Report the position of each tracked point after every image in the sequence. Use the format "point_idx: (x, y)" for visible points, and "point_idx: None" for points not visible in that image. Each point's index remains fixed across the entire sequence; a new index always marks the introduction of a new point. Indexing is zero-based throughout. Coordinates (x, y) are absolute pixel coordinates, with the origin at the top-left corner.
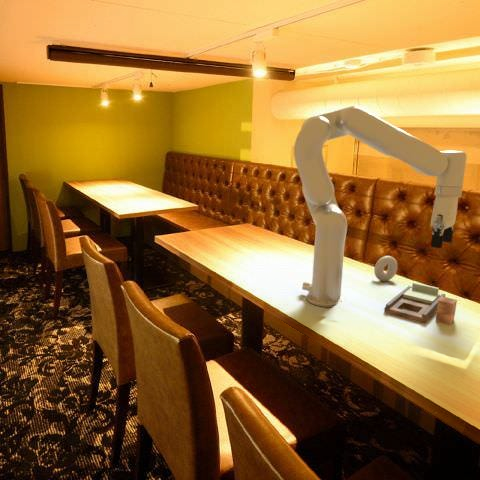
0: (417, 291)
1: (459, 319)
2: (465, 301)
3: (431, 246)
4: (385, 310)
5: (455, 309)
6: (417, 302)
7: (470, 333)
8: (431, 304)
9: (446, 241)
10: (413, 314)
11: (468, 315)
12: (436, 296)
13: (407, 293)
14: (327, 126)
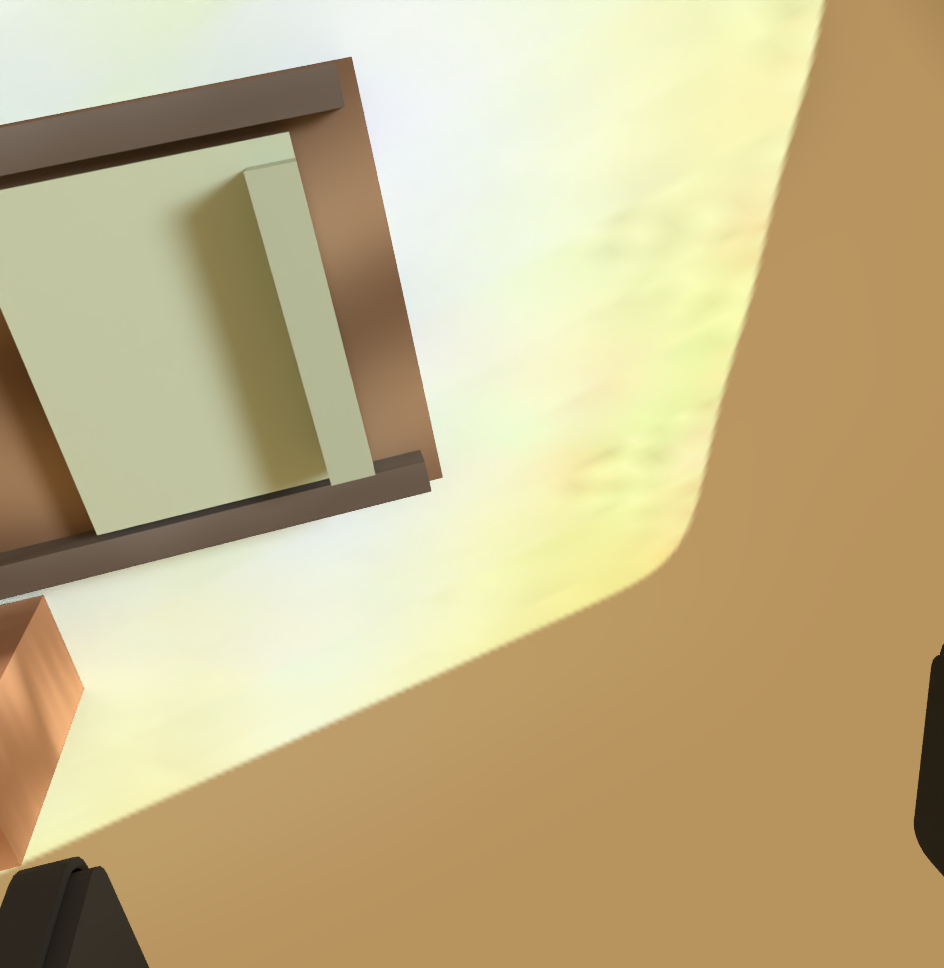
0: (222, 267)
1: (239, 658)
2: (666, 499)
3: (27, 878)
4: None
5: (45, 788)
6: (10, 392)
7: (64, 814)
8: None
9: (922, 770)
10: None
11: (381, 653)
12: (272, 482)
13: (32, 224)
14: None
